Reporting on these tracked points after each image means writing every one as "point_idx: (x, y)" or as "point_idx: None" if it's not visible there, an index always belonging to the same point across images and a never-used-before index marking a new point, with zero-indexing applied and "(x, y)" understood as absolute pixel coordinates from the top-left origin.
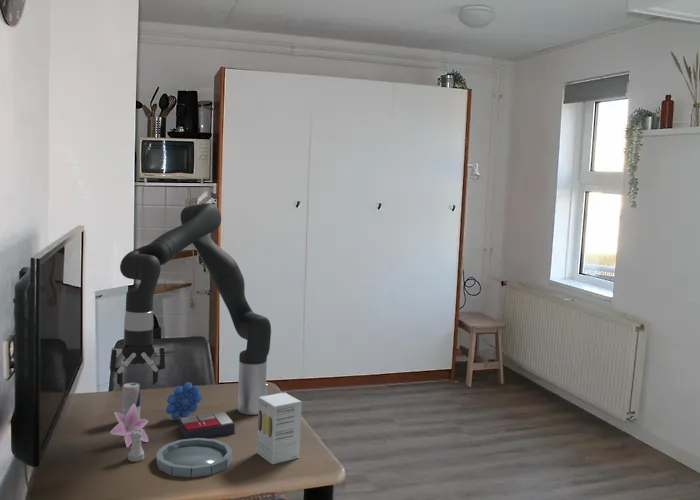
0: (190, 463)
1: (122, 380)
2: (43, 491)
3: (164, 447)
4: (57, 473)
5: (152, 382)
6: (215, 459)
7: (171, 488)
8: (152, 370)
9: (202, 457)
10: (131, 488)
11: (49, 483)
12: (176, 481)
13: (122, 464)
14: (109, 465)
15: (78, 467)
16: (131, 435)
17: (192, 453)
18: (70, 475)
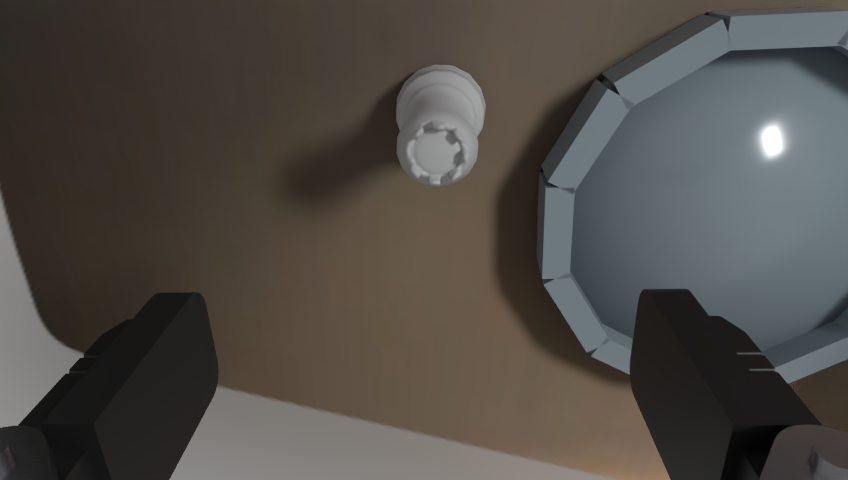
0: (691, 278)
1: (185, 446)
2: (77, 333)
3: (603, 122)
4: (79, 185)
5: (640, 401)
6: (826, 266)
7: (556, 425)
8: (730, 456)
9: (774, 228)
10: (407, 390)
11: (77, 273)
12: (588, 380)
13: (370, 160)
14: (307, 156)
15: (160, 142)
16: (403, 168)
17: (742, 163)
18: (144, 220)
